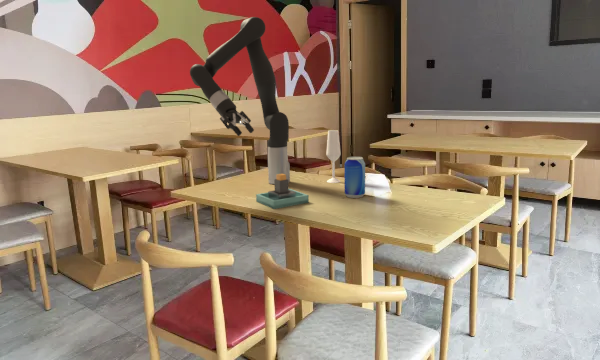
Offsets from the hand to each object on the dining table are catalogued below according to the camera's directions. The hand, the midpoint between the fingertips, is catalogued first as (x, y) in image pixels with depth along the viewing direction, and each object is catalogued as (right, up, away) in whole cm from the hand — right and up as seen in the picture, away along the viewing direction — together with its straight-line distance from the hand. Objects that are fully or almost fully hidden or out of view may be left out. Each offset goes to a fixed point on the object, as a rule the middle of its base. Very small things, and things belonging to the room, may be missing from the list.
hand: (246, 133), depth 201 cm
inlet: (+15, -27, -6) cm, 31 cm away
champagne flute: (+38, -20, +30) cm, 52 cm away
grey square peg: (+15, -27, -6) cm, 31 cm away
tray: (+15, -28, -5) cm, 32 cm away
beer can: (+45, -26, +2) cm, 52 cm away
